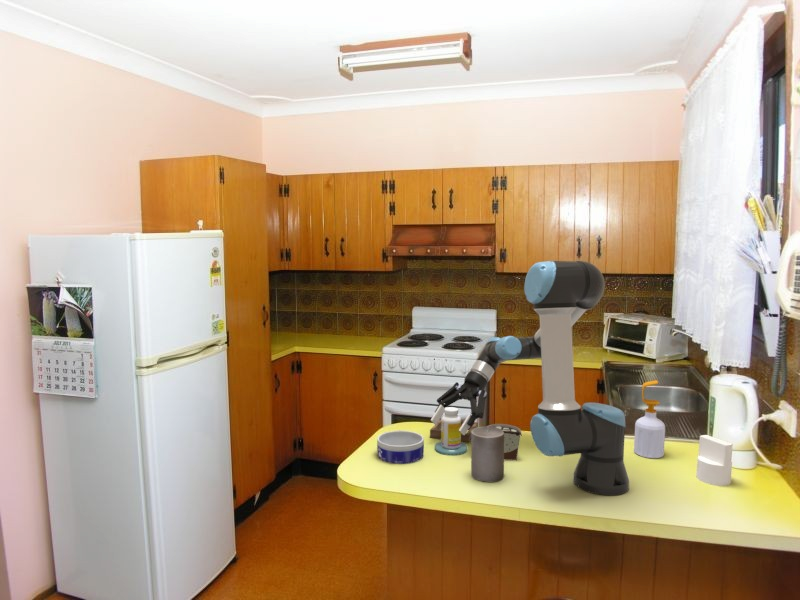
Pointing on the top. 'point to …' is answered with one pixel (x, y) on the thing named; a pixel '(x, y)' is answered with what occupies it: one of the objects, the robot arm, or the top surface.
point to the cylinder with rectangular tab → (714, 461)
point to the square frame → (436, 433)
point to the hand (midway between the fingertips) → (447, 427)
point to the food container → (510, 440)
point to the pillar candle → (487, 454)
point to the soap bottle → (649, 430)
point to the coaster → (445, 451)
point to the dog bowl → (400, 447)
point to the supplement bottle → (450, 429)
